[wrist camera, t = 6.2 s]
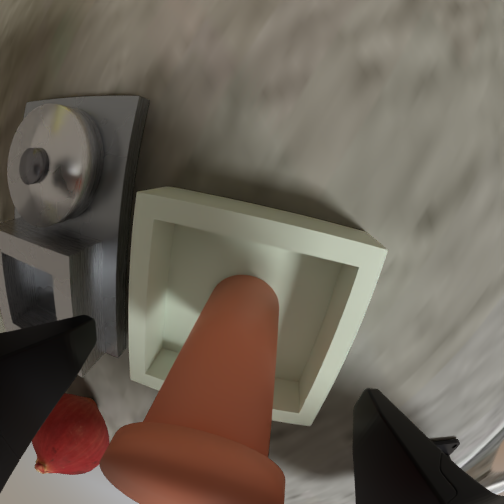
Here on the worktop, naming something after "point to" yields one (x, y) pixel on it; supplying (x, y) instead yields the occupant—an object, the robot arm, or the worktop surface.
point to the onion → (71, 437)
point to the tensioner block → (71, 215)
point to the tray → (254, 264)
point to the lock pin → (210, 411)
